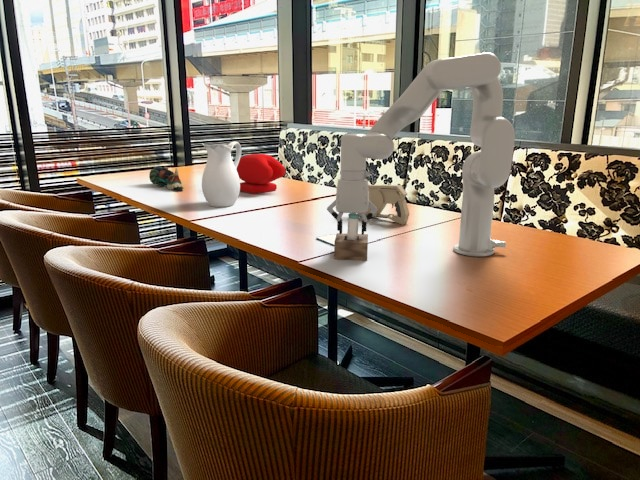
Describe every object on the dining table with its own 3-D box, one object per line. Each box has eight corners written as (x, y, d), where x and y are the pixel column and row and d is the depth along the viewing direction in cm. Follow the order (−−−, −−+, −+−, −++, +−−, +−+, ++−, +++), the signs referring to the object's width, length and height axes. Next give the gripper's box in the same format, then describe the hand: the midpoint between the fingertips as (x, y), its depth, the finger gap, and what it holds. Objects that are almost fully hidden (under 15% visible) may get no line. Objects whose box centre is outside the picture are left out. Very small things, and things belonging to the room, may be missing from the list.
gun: (410, 223, 201) (409, 185, 198) (405, 225, 198) (404, 186, 195) (361, 219, 217) (359, 183, 214) (356, 220, 215) (354, 184, 212)
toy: (264, 158, 246) (228, 151, 267) (264, 198, 252) (229, 188, 273) (289, 155, 257) (252, 149, 277) (288, 194, 262) (253, 185, 283)
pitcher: (224, 210, 224) (221, 145, 216) (195, 205, 232) (190, 143, 224) (257, 200, 243) (255, 140, 236) (229, 197, 252) (226, 139, 244)
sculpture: (169, 159, 287) (194, 171, 266) (167, 183, 291) (191, 196, 270) (146, 158, 279) (170, 170, 258) (144, 182, 282) (167, 196, 261)
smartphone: (362, 247, 172) (333, 236, 184) (362, 244, 172) (333, 233, 184) (343, 251, 167) (315, 239, 180) (343, 248, 167) (315, 237, 180)
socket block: (367, 250, 166) (367, 234, 165) (367, 260, 157) (367, 242, 155) (336, 249, 167) (336, 233, 166) (334, 259, 158) (334, 241, 156)
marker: (356, 250, 163) (359, 213, 160) (356, 253, 160) (359, 216, 157) (346, 249, 163) (348, 212, 160) (345, 252, 160) (348, 215, 157)
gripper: (381, 174, 158) (379, 230, 163) (325, 173, 160) (325, 229, 165) (382, 178, 151) (379, 237, 156) (323, 176, 152) (322, 235, 157)
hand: (351, 232), depth 160 cm, fingers open, 6 cm apart
